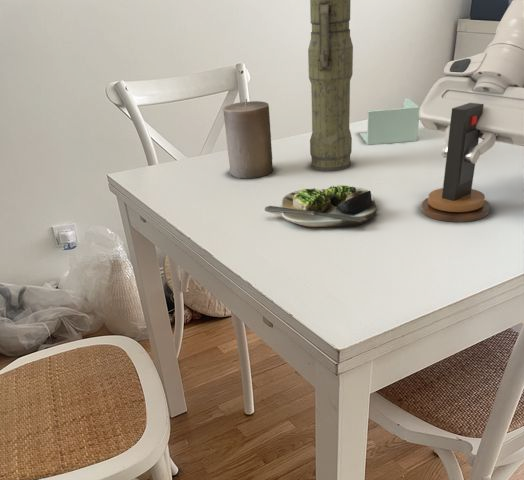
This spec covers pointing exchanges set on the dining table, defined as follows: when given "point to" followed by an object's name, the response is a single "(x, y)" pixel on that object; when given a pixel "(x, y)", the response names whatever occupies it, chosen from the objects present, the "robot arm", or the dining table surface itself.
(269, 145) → the pillar candle
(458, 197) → the slab on wooden base
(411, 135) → the right angle wall
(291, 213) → the salad plate
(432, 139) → the dining table surface
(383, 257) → the dining table surface
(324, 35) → the thermos
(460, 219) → the swivel stand
